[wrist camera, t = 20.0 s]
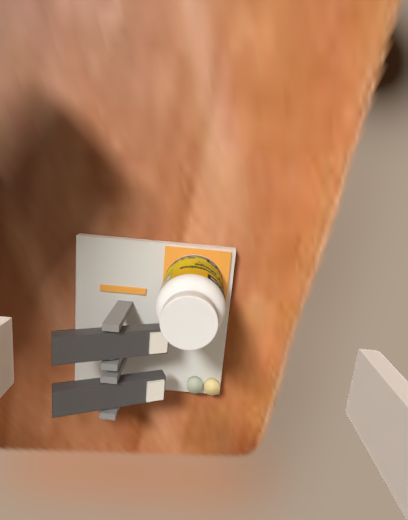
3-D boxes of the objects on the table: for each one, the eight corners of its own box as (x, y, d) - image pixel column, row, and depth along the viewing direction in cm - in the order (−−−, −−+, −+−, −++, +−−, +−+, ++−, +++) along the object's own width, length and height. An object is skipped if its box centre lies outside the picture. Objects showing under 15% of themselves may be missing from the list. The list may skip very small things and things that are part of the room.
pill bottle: (233, 269, 39) (243, 309, 28) (205, 316, 40) (205, 372, 30) (181, 242, 38) (172, 272, 28) (154, 291, 40) (136, 338, 29)
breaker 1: (51, 360, 35) (51, 369, 33) (51, 328, 34) (51, 337, 32) (163, 348, 39) (168, 356, 37) (165, 320, 38) (170, 327, 37)
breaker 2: (52, 410, 36) (52, 422, 34) (51, 381, 35) (52, 392, 34) (160, 393, 40) (164, 403, 39) (162, 367, 40) (166, 376, 38)
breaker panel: (78, 376, 44) (52, 417, 37) (80, 233, 40) (50, 247, 32) (219, 388, 44) (221, 432, 37) (235, 247, 40) (241, 265, 33)
